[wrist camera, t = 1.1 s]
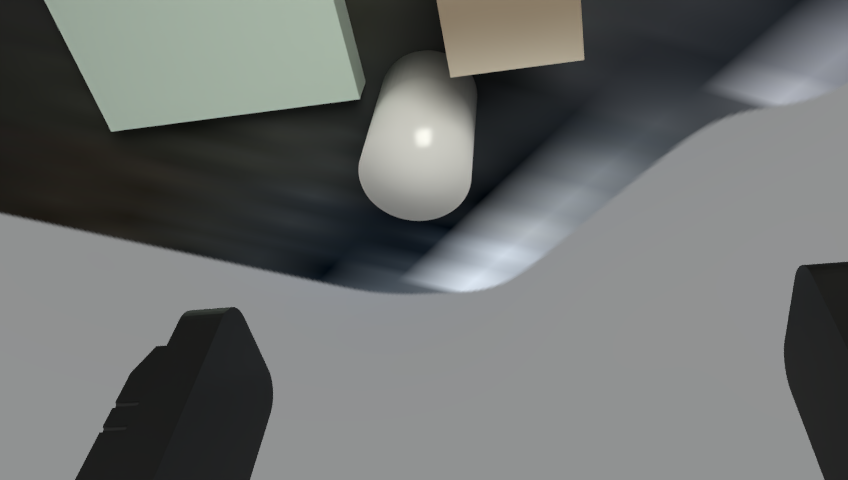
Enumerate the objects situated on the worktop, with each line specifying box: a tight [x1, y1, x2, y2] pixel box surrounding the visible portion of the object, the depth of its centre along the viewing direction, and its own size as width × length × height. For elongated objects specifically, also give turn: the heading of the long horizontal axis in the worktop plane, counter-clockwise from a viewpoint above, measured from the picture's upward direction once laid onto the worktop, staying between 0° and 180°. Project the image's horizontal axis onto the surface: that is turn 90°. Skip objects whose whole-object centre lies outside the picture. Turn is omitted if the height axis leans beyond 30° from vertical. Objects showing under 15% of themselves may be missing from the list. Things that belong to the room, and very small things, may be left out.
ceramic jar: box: [359, 50, 477, 221], centre depth 28 cm, size 4×4×6 cm
